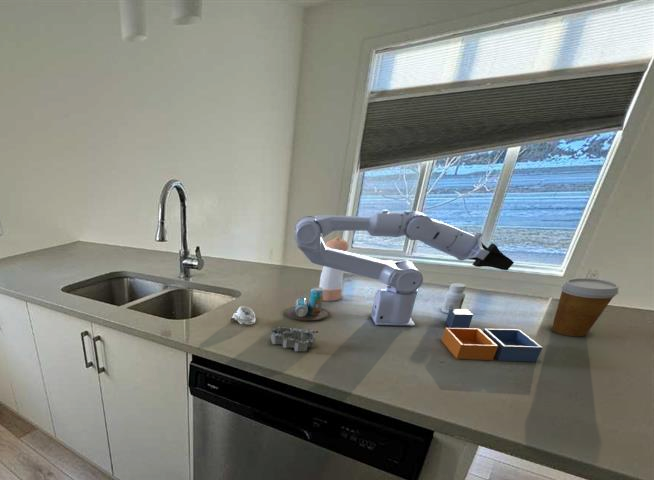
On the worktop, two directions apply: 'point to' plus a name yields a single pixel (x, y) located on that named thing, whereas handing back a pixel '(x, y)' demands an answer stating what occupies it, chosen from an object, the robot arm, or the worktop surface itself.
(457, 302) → the pill bottle
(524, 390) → the worktop surface
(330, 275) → the pepper shaker
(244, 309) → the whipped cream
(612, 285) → the disposable coffee cup
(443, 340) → the amber bin
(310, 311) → the round serving tray
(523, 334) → the blue bin
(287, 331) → the egg carton
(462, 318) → the blue block
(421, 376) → the worktop surface
